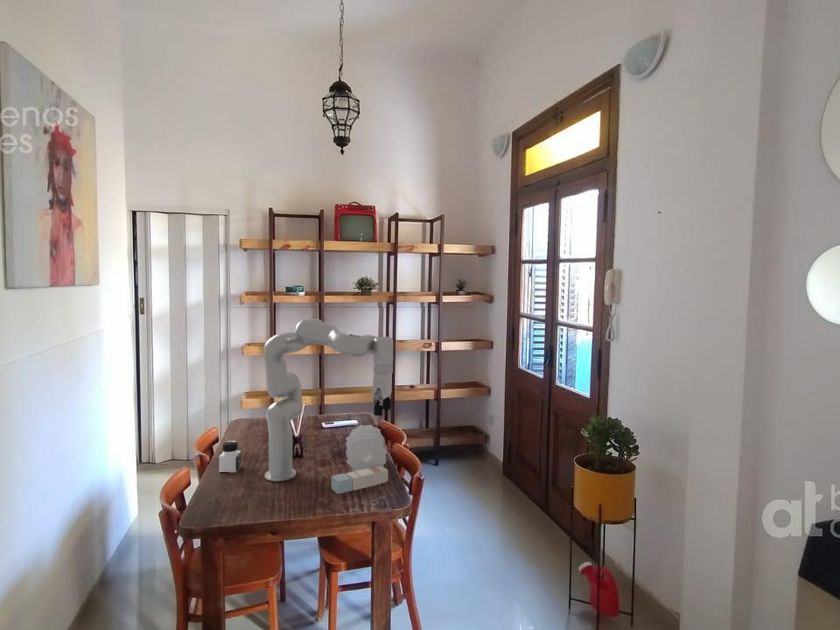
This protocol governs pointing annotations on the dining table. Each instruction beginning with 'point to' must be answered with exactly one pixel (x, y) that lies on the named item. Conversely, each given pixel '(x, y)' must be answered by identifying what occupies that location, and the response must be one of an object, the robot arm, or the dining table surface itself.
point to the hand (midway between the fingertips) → (382, 412)
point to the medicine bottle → (230, 457)
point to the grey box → (341, 483)
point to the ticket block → (368, 477)
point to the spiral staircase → (365, 448)
